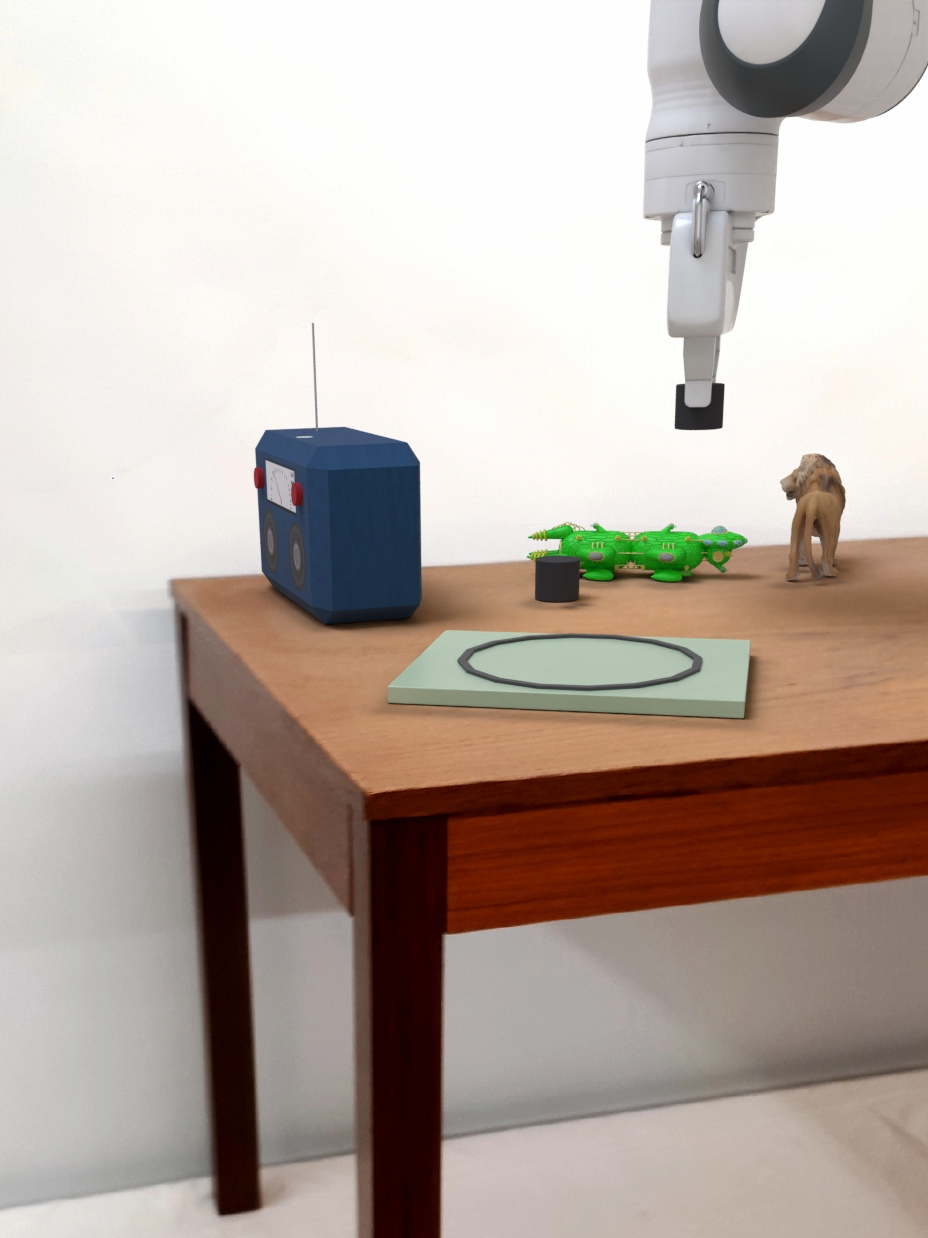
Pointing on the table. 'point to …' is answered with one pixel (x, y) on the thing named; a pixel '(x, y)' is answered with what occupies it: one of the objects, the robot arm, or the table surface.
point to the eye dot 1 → (557, 578)
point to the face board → (579, 673)
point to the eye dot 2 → (700, 410)
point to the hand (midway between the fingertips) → (699, 404)
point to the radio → (340, 521)
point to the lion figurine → (814, 513)
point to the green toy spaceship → (641, 550)
